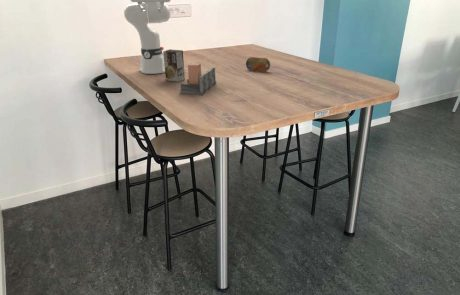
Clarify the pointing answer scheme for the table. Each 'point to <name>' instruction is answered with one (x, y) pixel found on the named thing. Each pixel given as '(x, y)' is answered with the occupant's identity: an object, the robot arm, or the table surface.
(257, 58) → the tin
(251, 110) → the table surface
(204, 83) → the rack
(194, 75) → the tall salmon pillar
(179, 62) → the coffee box
